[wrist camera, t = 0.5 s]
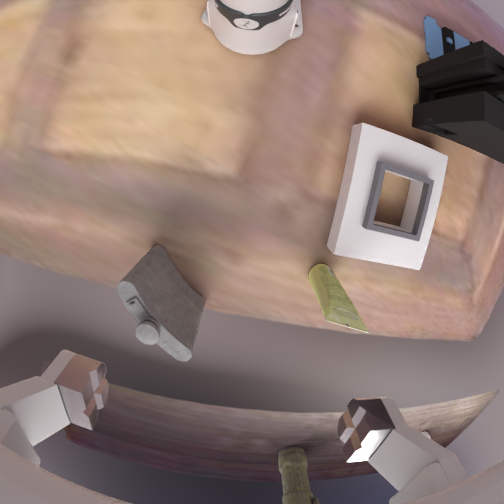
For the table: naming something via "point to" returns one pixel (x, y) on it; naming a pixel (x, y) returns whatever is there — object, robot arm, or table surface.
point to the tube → (334, 298)
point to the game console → (461, 91)
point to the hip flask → (162, 304)
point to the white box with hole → (368, 192)
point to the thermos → (295, 476)
